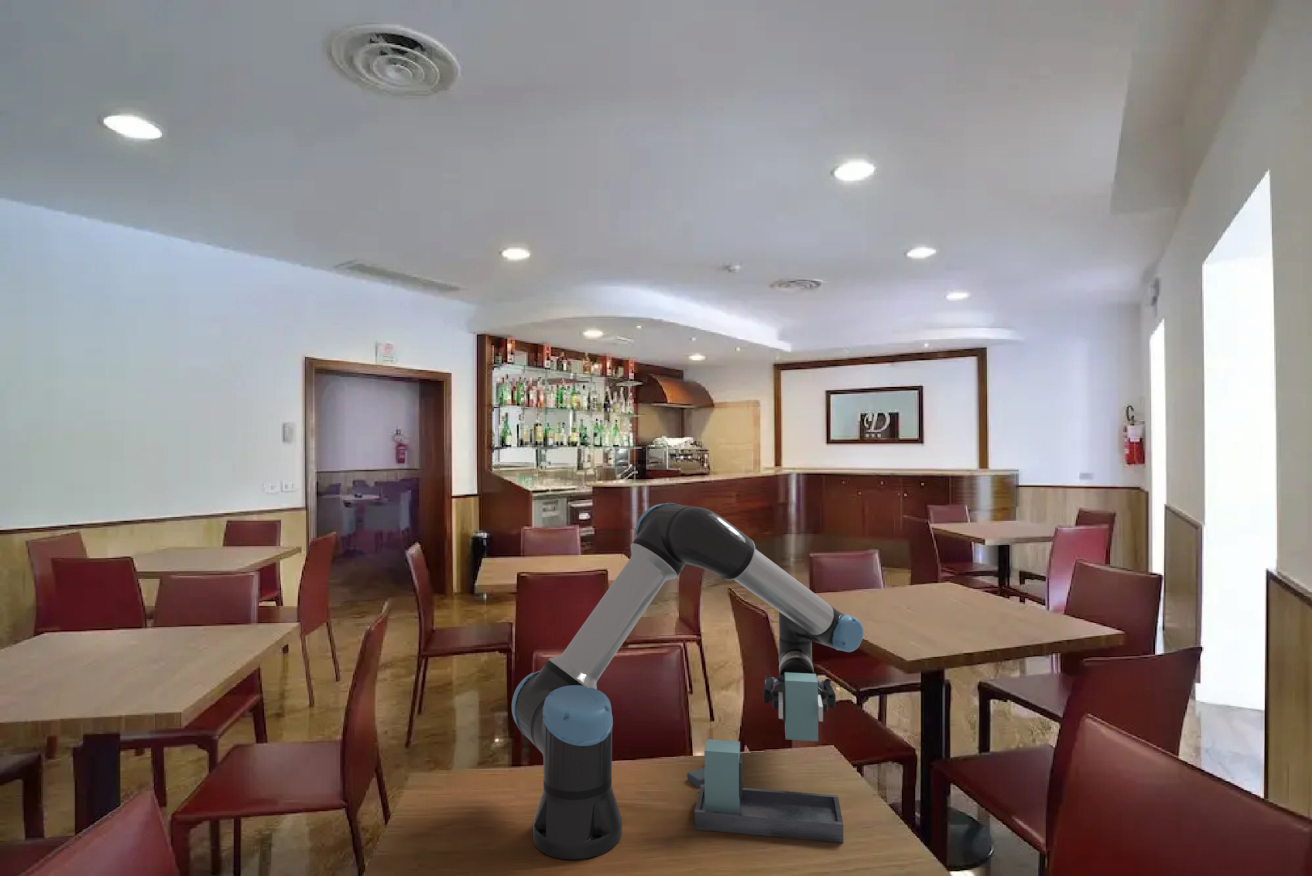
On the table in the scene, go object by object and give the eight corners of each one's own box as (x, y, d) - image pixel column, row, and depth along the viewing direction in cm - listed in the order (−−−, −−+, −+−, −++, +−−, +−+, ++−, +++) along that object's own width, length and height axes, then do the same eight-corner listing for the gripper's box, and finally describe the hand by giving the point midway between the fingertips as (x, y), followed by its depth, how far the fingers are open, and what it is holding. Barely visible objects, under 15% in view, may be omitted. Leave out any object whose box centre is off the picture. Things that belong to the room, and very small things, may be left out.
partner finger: (704, 813, 121) (704, 750, 121) (707, 799, 125) (707, 739, 126) (741, 816, 119) (741, 753, 120) (743, 802, 124) (742, 741, 125)
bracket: (686, 782, 136) (686, 772, 136) (726, 768, 142) (726, 758, 142) (698, 790, 133) (698, 780, 133) (739, 776, 139) (739, 766, 139)
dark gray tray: (694, 829, 118) (694, 811, 118) (700, 800, 128) (700, 784, 128) (843, 842, 114) (843, 824, 114) (838, 811, 124) (837, 795, 124)
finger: (783, 738, 129) (782, 680, 130) (782, 728, 134) (782, 672, 134) (818, 741, 128) (817, 682, 129) (816, 730, 133) (815, 673, 133)
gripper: (842, 694, 147) (855, 737, 125) (751, 688, 151) (747, 729, 128) (842, 659, 148) (855, 695, 125) (751, 654, 151) (747, 688, 128)
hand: (800, 712), depth 126 cm, fingers closed on finger, 6 cm apart
